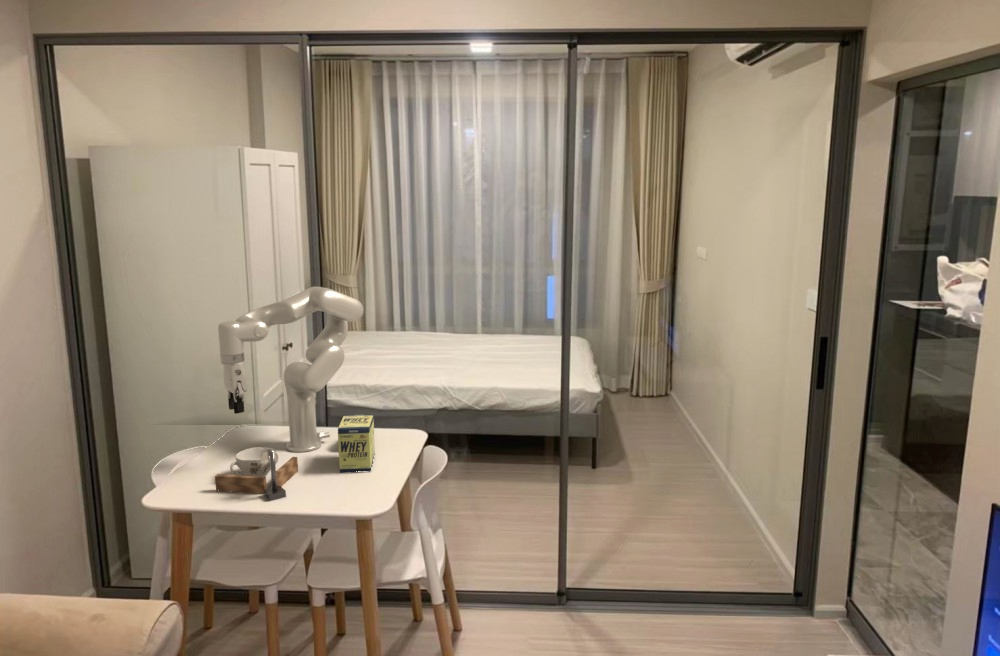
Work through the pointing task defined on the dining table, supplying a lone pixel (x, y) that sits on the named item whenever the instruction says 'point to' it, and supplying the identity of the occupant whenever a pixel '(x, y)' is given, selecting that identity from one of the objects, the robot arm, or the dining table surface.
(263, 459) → the dial stand
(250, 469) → the teacup
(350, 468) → the protein box
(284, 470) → the v block
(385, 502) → the dining table surface
